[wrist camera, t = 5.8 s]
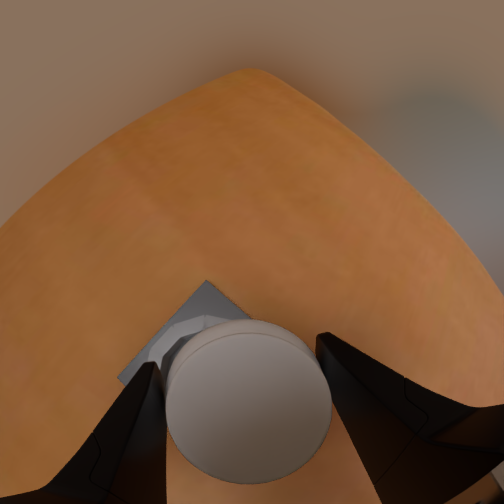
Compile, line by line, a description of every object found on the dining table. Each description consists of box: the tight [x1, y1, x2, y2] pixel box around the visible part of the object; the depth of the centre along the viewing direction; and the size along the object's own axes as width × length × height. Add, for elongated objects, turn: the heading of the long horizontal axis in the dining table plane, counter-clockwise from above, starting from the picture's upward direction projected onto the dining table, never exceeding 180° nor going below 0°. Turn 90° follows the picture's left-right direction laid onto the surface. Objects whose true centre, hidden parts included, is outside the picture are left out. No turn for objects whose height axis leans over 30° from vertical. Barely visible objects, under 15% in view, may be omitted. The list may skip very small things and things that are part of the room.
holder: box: [117, 280, 251, 426], centre depth 19 cm, size 11×11×3 cm
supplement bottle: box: [165, 319, 332, 484], centre depth 10 cm, size 5×5×10 cm
